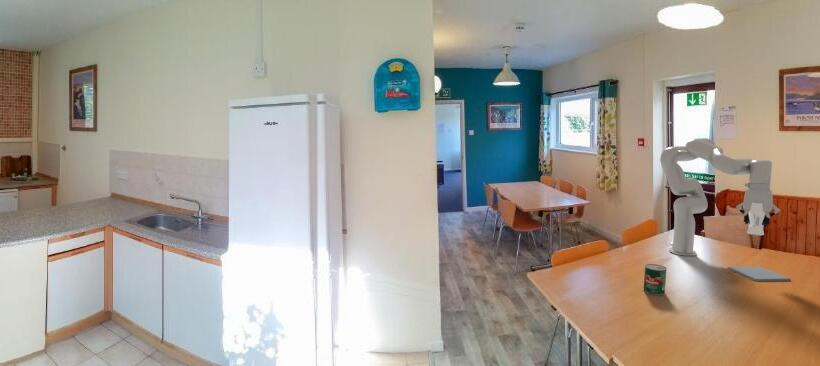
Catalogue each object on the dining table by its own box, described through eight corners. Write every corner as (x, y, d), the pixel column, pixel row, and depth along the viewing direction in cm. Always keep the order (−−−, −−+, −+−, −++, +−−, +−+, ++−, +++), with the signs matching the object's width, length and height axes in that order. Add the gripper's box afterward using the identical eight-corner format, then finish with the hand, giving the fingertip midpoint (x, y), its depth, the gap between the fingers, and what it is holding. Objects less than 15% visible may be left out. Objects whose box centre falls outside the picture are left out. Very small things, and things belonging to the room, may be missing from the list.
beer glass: (757, 232, 192) (760, 201, 191) (769, 235, 186) (771, 203, 184) (742, 231, 193) (744, 201, 192) (752, 235, 186) (755, 203, 185)
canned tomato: (645, 294, 170) (646, 268, 169) (641, 287, 178) (643, 263, 176) (666, 296, 168) (668, 270, 166) (662, 289, 175) (664, 265, 174)
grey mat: (727, 269, 199) (727, 267, 198) (759, 268, 199) (760, 266, 199) (755, 281, 183) (755, 279, 183) (790, 280, 183) (790, 278, 183)
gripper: (734, 186, 190) (731, 223, 193) (784, 189, 178) (780, 228, 180) (736, 184, 196) (733, 221, 198) (785, 187, 183) (781, 226, 185)
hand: (756, 224), depth 189 cm, fingers closed on beer glass, 6 cm apart
